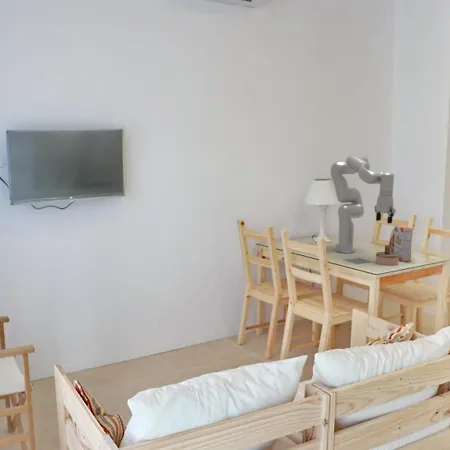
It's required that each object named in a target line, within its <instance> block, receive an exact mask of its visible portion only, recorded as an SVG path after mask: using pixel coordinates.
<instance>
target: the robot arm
mask: <svg viewBox="0 0 450 450" xmlns="http://www.w3.org/2000/svg"><path fill="white" fill-rule="evenodd" d="M370 168H371V165H370V163H369V158H368V157H367V156H366V155H364V154H352V155H349V156H347V157H346V159H345V161H343V160H342V161H336V162H334V163H333V164H332V165H331V167H330V177H331V179H332V181H333V184H334V189H335V195H336V197H337V198H336V199H337V201H338V202H339V203H341V205H340V206H339V207H338V208H337V209H338V210H337V214H338V243H337V244H335V247H337V248H335V251H336V252H337V253H342V254H353V253H356V250H355V249H354V233H355V232H354V230H355V228H354V227H355V224H354V222H353V220H352V219H359V218H361V217H363V216H364V213H365V209H364V205H363V200H362V195H361V192H360V190H359V189H357V188H355V187H354V188H353V187H352V188H350V187H349V185H348V181H347V179H346V178H345V177H344V176H343V175H355V174H357V173H358V176H359V179H360V180H361V181H362V182H364V183H366V184H368V185H379V191H378V192H379V194H378V196H377V198H376V199H377V200H376V204H375V205H374V206H373V207H374V211H375V216H376V217H375V221H376V222H378V221H382V214H387V223H386V224H392V223H393V217H394V216H395V213H396V212H397V210H396V208H394V196H393V193H394V180H395V175H394V173H393V172H385V171H384V170H383V171H382V170H380V171H378V170H377V171H373V170H372V171H370ZM381 213H382V214H381Z"/></svg>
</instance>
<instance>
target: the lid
mask: <svg viewBox="0 0 450 450" xmlns="http://www.w3.org/2000/svg"><path fill="white" fill-rule="evenodd" d="M390 247H391V246H389V244H387V245H384V251H379V252H376V253H375V256H378V257H384V258H397V257H399V254H397V253H392V252H390Z"/></svg>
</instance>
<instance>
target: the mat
mask: <svg viewBox="0 0 450 450" xmlns="http://www.w3.org/2000/svg"><path fill="white" fill-rule="evenodd" d="M343 261H345V262H348V263H350V264H351V263H352V264H355V265H360V264H361V265H362V264H369V263H373V261H372V260H367V259H364V258H360V257H358V258H355V257H354V258H349V259H343Z"/></svg>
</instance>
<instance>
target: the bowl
mask: <svg viewBox="0 0 450 450" xmlns="http://www.w3.org/2000/svg"><path fill="white" fill-rule="evenodd" d="M375 256H376V255H375ZM375 258H376V259H375V263H376V264H378V265H382V266H398V264H399V262H400V260H399V257H397V258H384V257H378V256H376V257H375Z"/></svg>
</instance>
